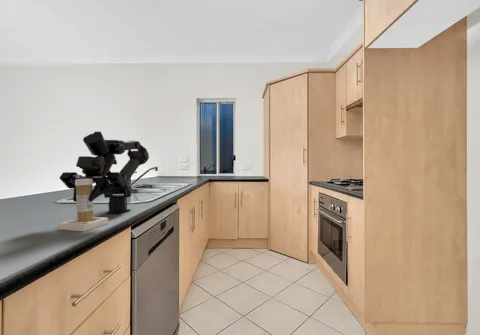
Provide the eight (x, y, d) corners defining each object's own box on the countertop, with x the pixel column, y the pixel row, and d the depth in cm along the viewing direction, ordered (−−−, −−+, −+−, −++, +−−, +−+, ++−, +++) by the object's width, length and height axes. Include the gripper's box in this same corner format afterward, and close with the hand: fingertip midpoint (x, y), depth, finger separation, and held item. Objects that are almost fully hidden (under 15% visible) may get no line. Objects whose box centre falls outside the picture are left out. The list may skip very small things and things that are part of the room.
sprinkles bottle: (89, 218, 73) (87, 178, 73) (97, 219, 71) (95, 178, 70) (73, 221, 69) (71, 179, 68) (81, 223, 67) (79, 179, 66)
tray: (85, 221, 75) (85, 216, 75) (108, 223, 73) (108, 217, 73) (59, 229, 66) (59, 223, 66) (83, 231, 64) (83, 225, 64)
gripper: (63, 148, 73) (34, 184, 62) (120, 148, 73) (101, 184, 63) (80, 170, 81) (56, 206, 70) (131, 170, 82) (116, 206, 71)
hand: (81, 200), depth 68 cm, fingers closed on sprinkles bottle, 4 cm apart
